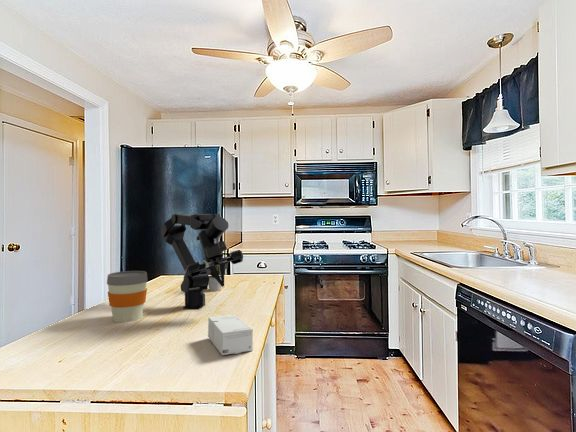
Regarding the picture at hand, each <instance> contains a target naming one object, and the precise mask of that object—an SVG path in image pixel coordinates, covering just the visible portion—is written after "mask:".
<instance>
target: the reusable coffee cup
mask: <svg viewBox="0 0 576 432" xmlns="http://www.w3.org/2000/svg"><path fill="white" fill-rule="evenodd" d="M148 280H149V279H148V272H147V271H145V270H126V271H123V270H122V271H116V272H112V273H108V274H107V280H106V284H107V286H108V291H107V296H108V297H107V299H108V303H109V306H110V307H111V314H112V321H113V322H115V323H129V322H134V321H137V320H141V319H142V318H143V314H144V306H145V305H144V304H145V303H146V299H147V293H148V291H147V290H148V289H147V282H148Z"/></svg>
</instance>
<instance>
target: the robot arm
mask: <svg viewBox="0 0 576 432" xmlns="http://www.w3.org/2000/svg"><path fill="white" fill-rule="evenodd" d="M186 226H189V227H190V228H191V229H192V230H194V231H200V232H198V234H197V236H196V241H199V242H200V245H201V246H200V247H201V248H202V251H203V254H204V259H205V261H206V262H207V263H205V262H204V263H200V262H199V261H196V260H195V259H194V257H193V255H192V253H191V251H190V250H189V248H188V245H187V244H186V241H185V240H184V237H185V232H186V230H187V227H186ZM228 228H229V222H228V221H227V220H226V219H225V218H224V217H222V216H221V214H220V213H215V214H214V215H212V214H211V213H195V214H185V213H174V214H172V215H171V217H170V218H169V219H168V220H167V221H166V222H164V223H163V226H162V227H161V230H160V236H161V237H162V238H163V240H164V242H165V243H166V244H168V245H171V246H172V248H173V250H174V253H175V254H176V256H177V258H178V261H179V262H180V264H181V266H182V268H183V271H184V273H183V279H182V282H181V284H180V291H181V292H182V293H184V306H183V307H182V308H183V309H189V310H190V309H191V310H192V309H193V310H196V309H197V310H199V309H202V308H203V307H204V306H206V293H204V292H205V291H206V290H208V289H209V285H208V283H209V276H211V275H212V276H213V277H214V278H215V279H216V280H217V281H218V283H219V284H220V285H221V288H222V287H225V274H226V273H225V272H226V271H225V270H227V269H228V265H229V263H231V264H233V265H237V264H240V263H242V262H244V261H243V260H244V254H243V251H242V250H240V249H237V250H233V251H231V252H229V255H228V256H225V257H224V254H223V252H226V251H227V250H228V248H227V244H226V242H225V240H222V241H218V239H219V238H220V237H221V236H222V235H223V234H224V233H226V231H227V230H228ZM217 265H219V268H218V269H219V271H220V274H218V272H219V271H218V272H217V270H216V267H215V266H217ZM219 275H220V276H221V279H220V276H219Z"/></svg>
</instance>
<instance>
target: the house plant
mask: <svg viewBox="0 0 576 432" xmlns="http://www.w3.org/2000/svg"><path fill="white" fill-rule="evenodd" d="M202 261H203V262H204V263H207V262H206V260H204V259H203V260H202ZM215 267H216V270H217V272H218V274H219V276H220V270H219V265H217V266H215ZM228 267H229V266H228ZM227 270H228V268H227V269H225V272H228V271H227ZM220 279H221V276H220ZM221 290H222V286H221V285H220V284H219V283H218V281H217V280H216V279H215V278H214V277H213V276H212V275H211V274H210V275H209V283H208V291H210V292H218V291H221Z"/></svg>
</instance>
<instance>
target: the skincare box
mask: <svg viewBox="0 0 576 432" xmlns="http://www.w3.org/2000/svg"><path fill="white" fill-rule="evenodd" d="M207 322H208V324H207V325H208V327H207V328H208V330H207V338H208V339H209V340H210V342H211V343H212V344H213V345H214V347H215V348H216V350H217V351H218V352H219V353H220V354H221V356H226V355H233V354H236V355H238V354H241V353H245V352H252V351H254V349H253V348H254V347H253V345H254V342H253V335H254V333H253V331H254V329H253V328H251V327H250V326H249V325H248V324H247V323H245V321H243V320H242V319H241V318H240V317H239V316H238V315H236V314H235V313H234V314H229V315H221V316H219V315H218V316H208V321H207Z"/></svg>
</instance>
